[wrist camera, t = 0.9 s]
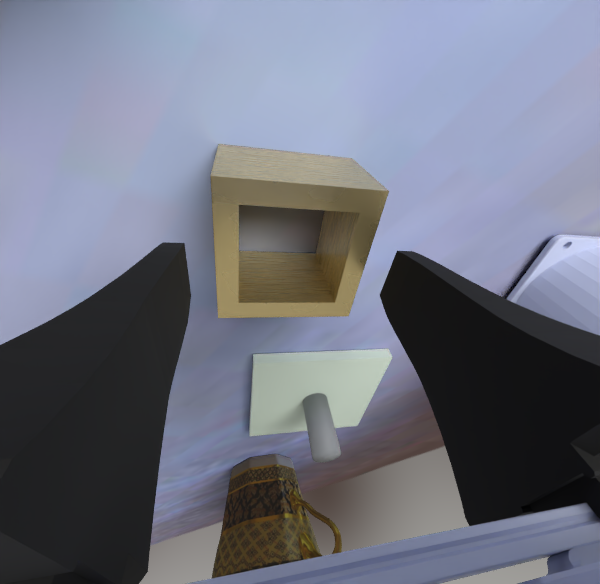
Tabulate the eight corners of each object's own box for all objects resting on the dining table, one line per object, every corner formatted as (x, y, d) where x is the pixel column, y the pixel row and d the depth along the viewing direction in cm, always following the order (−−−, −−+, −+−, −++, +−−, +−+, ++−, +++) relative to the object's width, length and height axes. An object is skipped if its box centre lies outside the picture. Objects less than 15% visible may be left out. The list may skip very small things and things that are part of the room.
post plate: (388, 348, 22) (420, 411, 18) (354, 417, 28) (373, 475, 24) (253, 354, 19) (256, 426, 16) (249, 427, 26) (251, 492, 22)
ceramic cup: (262, 490, 36) (268, 607, 28) (194, 477, 30) (180, 619, 23) (345, 447, 32) (379, 571, 24) (286, 423, 26) (305, 574, 19)
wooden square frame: (352, 158, 12) (388, 191, 9) (327, 266, 16) (348, 316, 13) (218, 144, 11) (210, 175, 8) (222, 263, 15) (218, 317, 12)
